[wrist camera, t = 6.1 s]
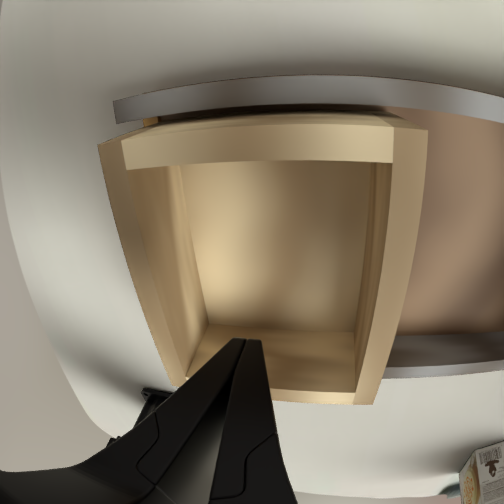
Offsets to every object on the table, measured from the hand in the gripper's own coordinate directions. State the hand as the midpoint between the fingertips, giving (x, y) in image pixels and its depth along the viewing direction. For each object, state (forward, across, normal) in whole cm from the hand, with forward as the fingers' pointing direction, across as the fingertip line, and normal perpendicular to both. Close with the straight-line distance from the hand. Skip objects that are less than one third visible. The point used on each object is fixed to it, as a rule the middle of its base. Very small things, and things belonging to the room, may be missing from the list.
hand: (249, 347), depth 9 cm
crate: (+7, 0, 0) cm, 7 cm away
